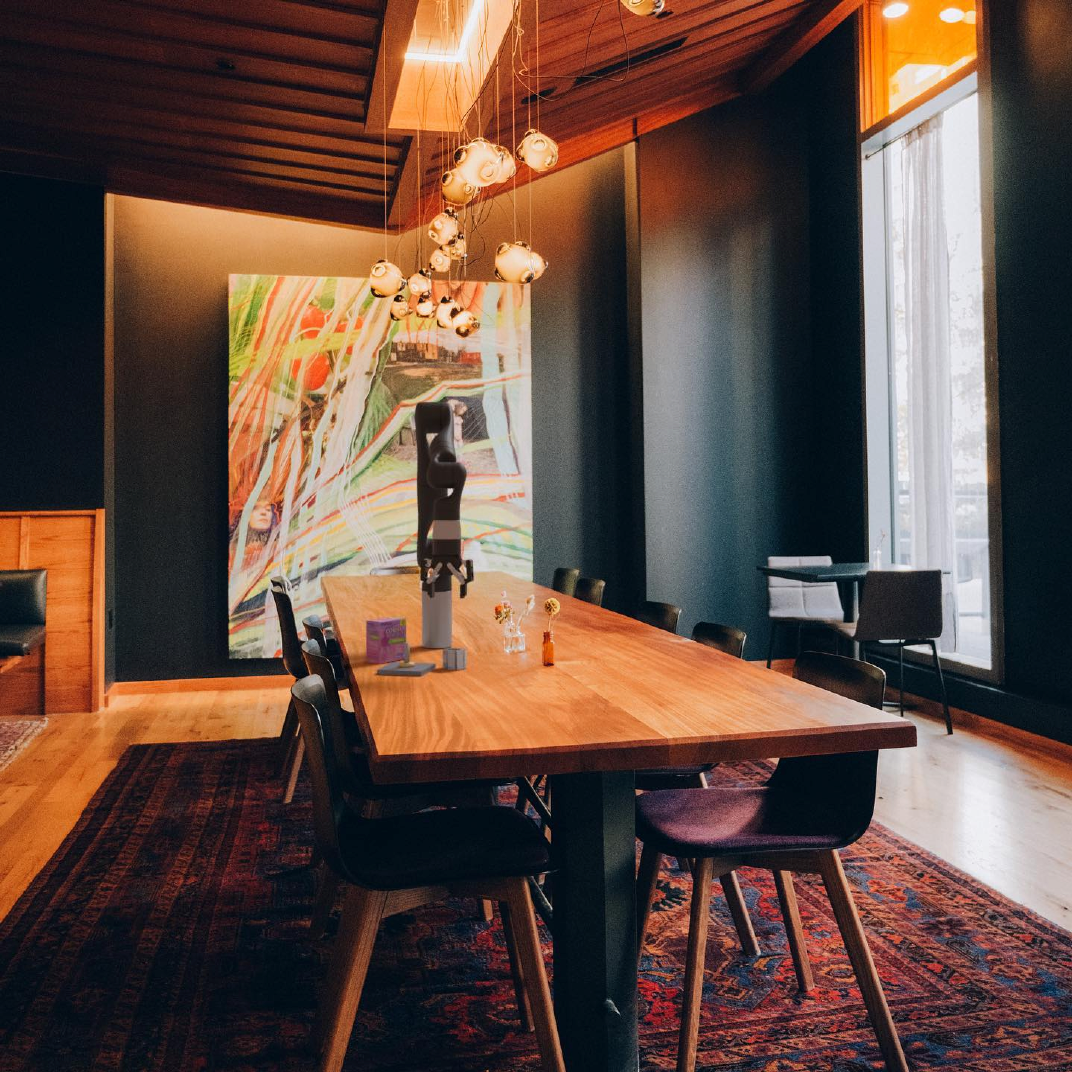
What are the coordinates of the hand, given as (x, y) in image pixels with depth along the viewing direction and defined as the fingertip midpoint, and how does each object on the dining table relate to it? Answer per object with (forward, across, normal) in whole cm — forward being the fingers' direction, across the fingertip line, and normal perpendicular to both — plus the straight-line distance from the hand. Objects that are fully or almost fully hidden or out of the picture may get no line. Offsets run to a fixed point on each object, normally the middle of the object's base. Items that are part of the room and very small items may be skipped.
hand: (447, 598), depth 248 cm
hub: (+19, -2, -1) cm, 19 cm away
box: (+19, +20, -8) cm, 29 cm away
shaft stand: (+19, +9, +6) cm, 22 cm away
